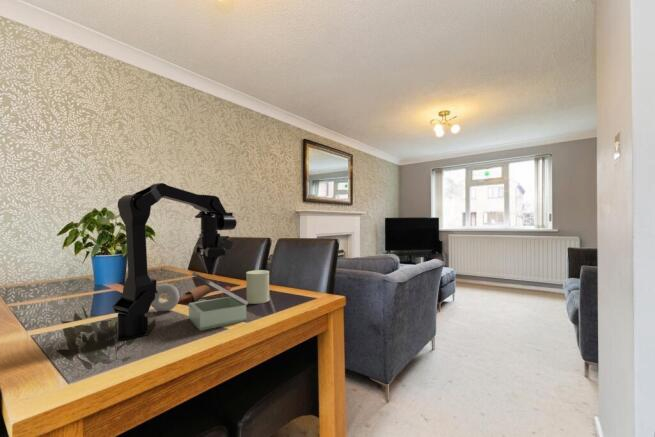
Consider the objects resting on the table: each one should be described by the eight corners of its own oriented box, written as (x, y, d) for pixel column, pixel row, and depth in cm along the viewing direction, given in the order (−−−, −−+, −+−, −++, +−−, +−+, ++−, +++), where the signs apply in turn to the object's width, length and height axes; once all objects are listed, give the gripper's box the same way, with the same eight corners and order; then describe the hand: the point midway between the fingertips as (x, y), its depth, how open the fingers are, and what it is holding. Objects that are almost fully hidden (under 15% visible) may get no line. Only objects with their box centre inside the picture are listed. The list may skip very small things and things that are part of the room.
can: (267, 303, 112) (267, 272, 112) (243, 304, 112) (243, 272, 112) (271, 297, 121) (271, 268, 121) (249, 297, 121) (249, 269, 121)
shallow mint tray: (200, 330, 84) (200, 313, 84) (188, 318, 95) (188, 303, 95) (246, 320, 93) (246, 304, 93) (231, 310, 104) (231, 296, 104)
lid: (199, 279, 84) (204, 272, 85) (188, 272, 96) (192, 267, 96) (247, 305, 93) (250, 298, 94) (231, 296, 104) (234, 290, 105)
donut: (147, 313, 101) (147, 284, 101) (151, 310, 104) (151, 282, 104) (177, 312, 102) (177, 283, 102) (181, 309, 106) (181, 281, 106)
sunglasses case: (190, 292, 130) (198, 279, 130) (204, 300, 131) (212, 287, 131) (172, 304, 112) (181, 289, 112) (188, 313, 113) (197, 298, 113)
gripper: (240, 230, 102) (241, 275, 102) (223, 229, 117) (223, 268, 117) (207, 231, 95) (208, 279, 95) (193, 230, 110) (193, 271, 110)
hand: (209, 274), depth 104 cm, fingers closed
